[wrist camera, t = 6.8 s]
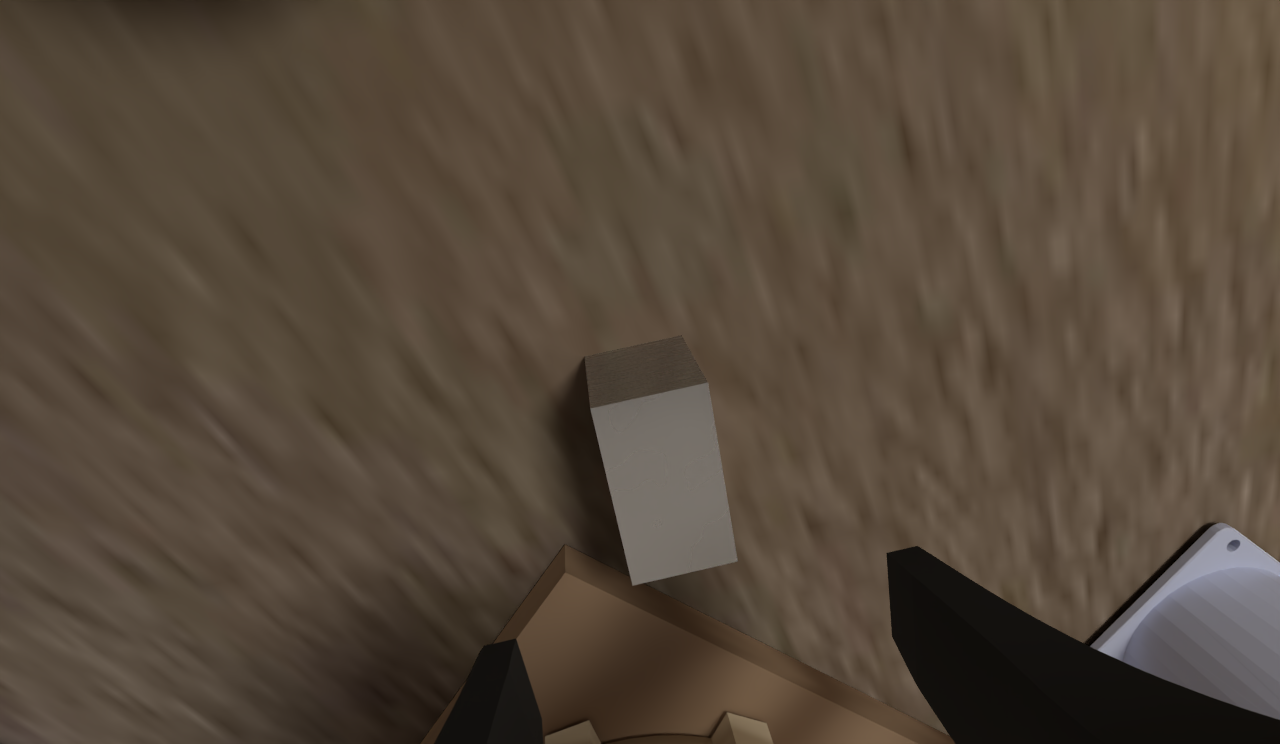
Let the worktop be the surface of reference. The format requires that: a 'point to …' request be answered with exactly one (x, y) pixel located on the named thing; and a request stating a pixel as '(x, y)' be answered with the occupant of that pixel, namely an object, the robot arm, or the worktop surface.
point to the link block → (661, 458)
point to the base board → (673, 669)
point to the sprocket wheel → (733, 740)
